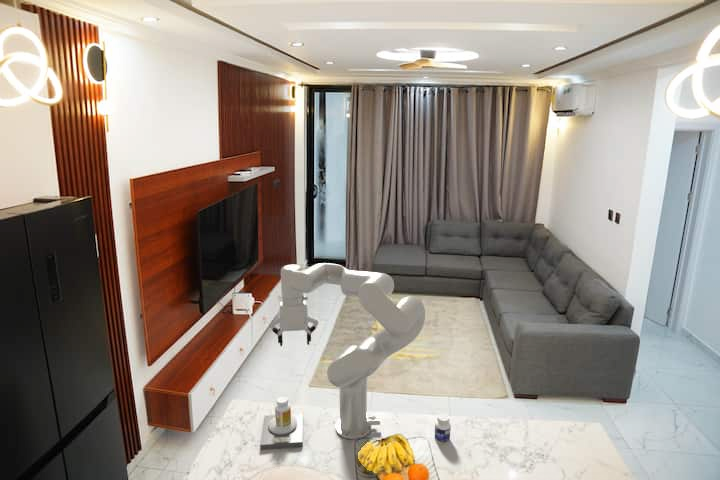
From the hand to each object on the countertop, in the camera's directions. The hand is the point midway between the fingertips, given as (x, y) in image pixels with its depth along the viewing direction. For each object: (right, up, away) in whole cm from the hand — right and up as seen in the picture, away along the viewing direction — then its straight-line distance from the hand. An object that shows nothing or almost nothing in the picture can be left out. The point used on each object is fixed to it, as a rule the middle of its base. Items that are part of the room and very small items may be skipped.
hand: (294, 343), depth 178 cm
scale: (-4, -31, -4) cm, 31 cm away
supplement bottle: (-4, -28, -3) cm, 28 cm away
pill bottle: (+52, -32, -8) cm, 61 cm away
